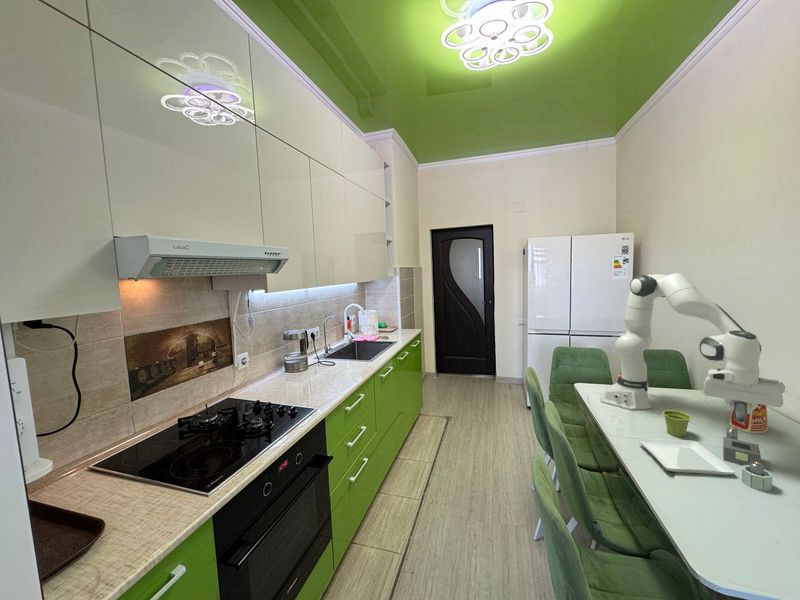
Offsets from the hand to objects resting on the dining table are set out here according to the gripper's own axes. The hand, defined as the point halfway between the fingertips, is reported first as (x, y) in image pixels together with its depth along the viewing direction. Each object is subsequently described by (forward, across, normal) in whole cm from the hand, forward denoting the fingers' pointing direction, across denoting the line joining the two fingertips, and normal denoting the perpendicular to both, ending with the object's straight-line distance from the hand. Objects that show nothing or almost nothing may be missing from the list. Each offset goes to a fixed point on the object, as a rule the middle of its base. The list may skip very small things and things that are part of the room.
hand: (740, 412), depth 119 cm
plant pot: (+19, +18, -11) cm, 29 cm away
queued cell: (+19, +2, -11) cm, 22 cm away
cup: (+19, -3, +16) cm, 25 cm away
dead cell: (+18, -3, +16) cm, 24 cm away
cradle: (+19, 0, 0) cm, 19 cm away
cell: (+3, 0, 0) cm, 3 cm away
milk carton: (+19, -5, -34) cm, 39 cm away
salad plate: (+20, +16, +12) cm, 28 cm away
